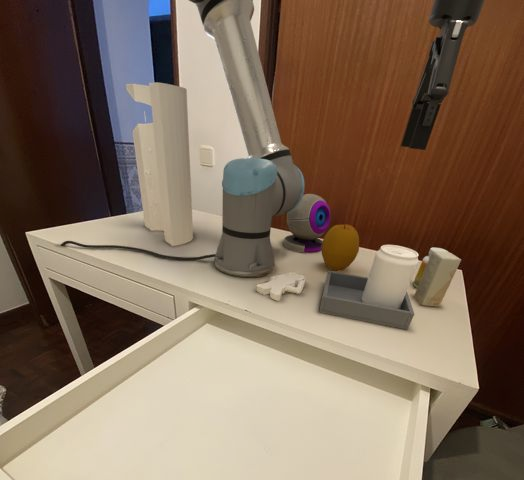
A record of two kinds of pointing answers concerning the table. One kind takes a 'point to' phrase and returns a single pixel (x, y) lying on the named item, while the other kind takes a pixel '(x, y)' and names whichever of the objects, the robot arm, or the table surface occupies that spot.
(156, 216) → the white tall block
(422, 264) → the supplement bottle
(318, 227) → the webcam
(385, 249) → the beverage can
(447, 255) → the box
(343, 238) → the apple
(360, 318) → the tray
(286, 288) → the white abstract figurine
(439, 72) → the robot arm
